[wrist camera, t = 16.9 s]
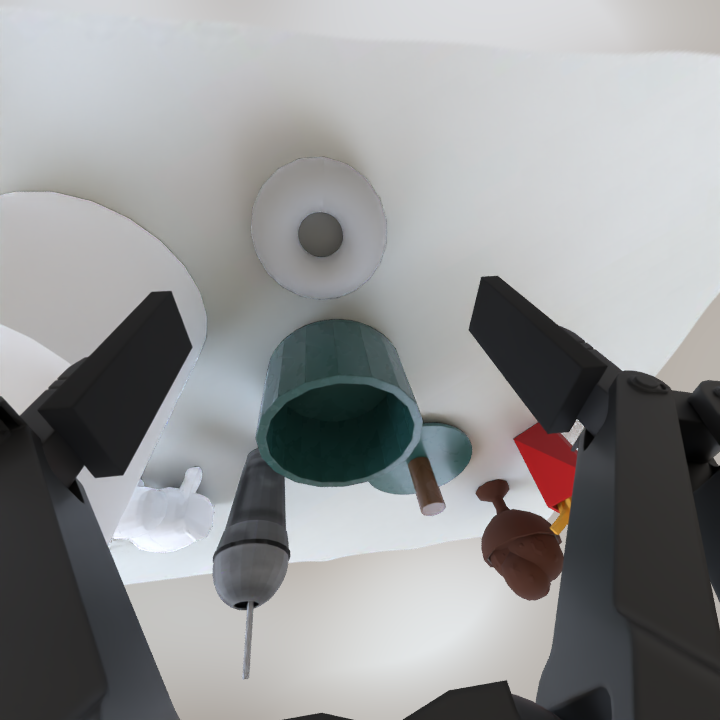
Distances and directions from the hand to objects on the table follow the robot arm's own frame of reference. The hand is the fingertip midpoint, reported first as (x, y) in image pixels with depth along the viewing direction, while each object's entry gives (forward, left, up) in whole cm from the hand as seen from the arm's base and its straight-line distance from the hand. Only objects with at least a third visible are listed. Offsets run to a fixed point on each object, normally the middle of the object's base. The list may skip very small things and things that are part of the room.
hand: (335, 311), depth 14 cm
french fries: (+27, -28, -14) cm, 41 cm away
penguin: (-21, -30, -14) cm, 40 cm away
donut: (0, 0, -14) cm, 14 cm away
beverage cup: (-9, -27, -14) cm, 32 cm away
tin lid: (+11, -30, -13) cm, 35 cm away
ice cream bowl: (+25, -41, -14) cm, 50 cm away
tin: (0, -15, -14) cm, 20 cm away
